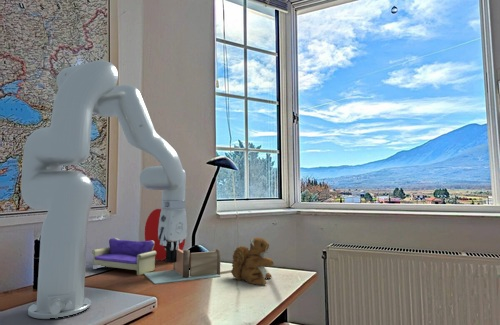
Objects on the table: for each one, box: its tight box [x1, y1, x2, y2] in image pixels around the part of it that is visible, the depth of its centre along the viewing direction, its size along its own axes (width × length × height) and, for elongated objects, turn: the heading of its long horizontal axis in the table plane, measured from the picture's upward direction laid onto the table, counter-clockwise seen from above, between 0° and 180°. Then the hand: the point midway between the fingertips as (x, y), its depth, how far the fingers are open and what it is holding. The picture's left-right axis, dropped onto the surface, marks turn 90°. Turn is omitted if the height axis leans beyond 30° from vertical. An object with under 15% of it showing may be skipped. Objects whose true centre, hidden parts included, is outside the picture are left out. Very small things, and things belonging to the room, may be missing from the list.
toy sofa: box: [91, 237, 156, 276], centre depth 120 cm, size 21×9×10 cm, turn 68°
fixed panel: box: [182, 248, 222, 278], centre depth 113 cm, size 2×13×8 cm, turn 120°
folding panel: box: [173, 246, 183, 276], centre depth 116 cm, size 2×10×8 cm, turn 28°
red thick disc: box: [144, 208, 186, 261], centre depth 140 cm, size 20×6×20 cm, turn 47°
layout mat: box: [143, 269, 221, 285], centre depth 114 cm, size 14×21×1 cm, turn 120°
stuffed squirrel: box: [230, 236, 275, 286], centre depth 110 cm, size 10×14×13 cm
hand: (171, 262), depth 115 cm, fingers closed
